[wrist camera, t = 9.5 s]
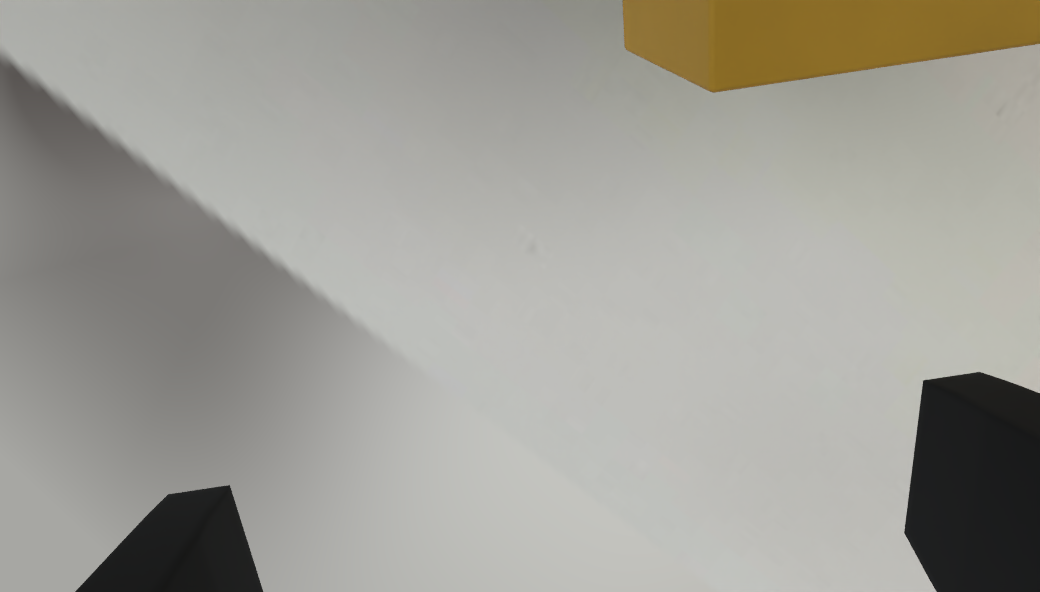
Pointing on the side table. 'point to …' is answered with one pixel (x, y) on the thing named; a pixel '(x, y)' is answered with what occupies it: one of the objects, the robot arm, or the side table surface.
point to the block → (816, 35)
